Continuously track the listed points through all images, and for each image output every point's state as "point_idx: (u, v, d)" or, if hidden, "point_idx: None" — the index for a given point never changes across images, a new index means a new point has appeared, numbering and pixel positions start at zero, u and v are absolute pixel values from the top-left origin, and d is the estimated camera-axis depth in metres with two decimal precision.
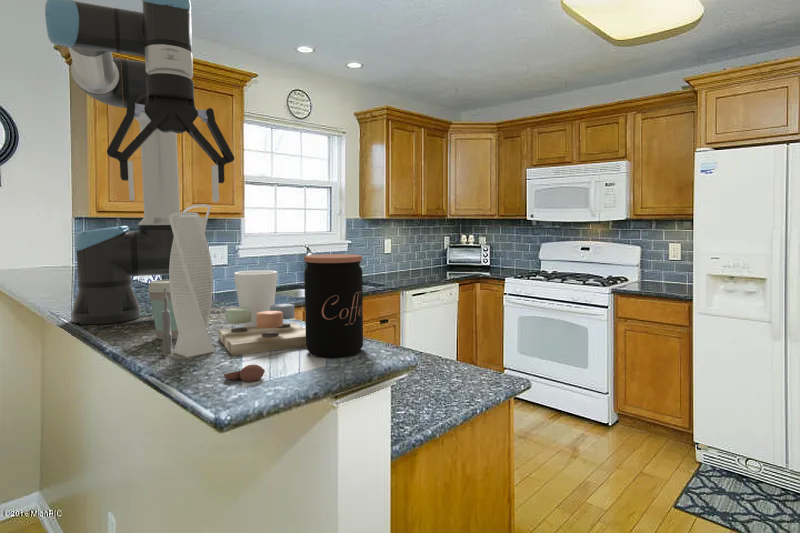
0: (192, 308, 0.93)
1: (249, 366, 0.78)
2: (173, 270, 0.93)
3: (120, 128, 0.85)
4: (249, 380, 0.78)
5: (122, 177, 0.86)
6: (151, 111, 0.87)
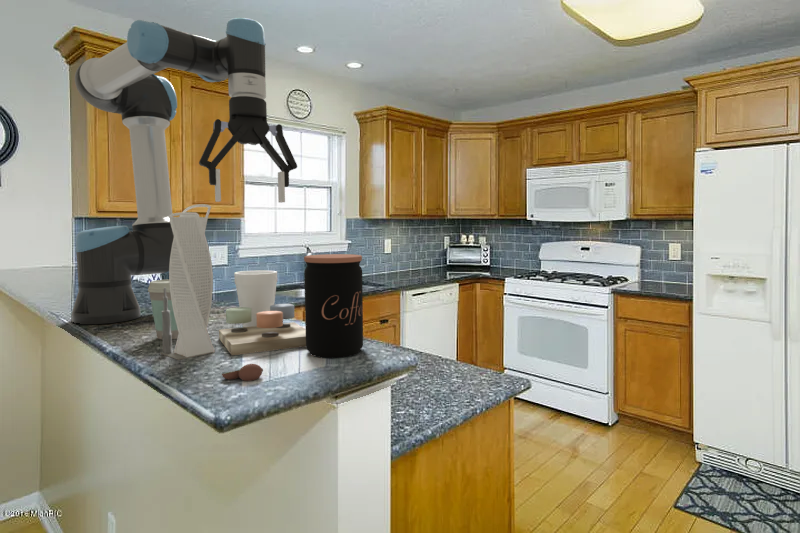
0: (192, 308, 0.93)
1: (248, 365, 0.79)
2: (173, 270, 0.93)
3: (210, 142, 1.03)
4: (248, 379, 0.78)
5: (211, 182, 1.04)
6: (233, 127, 1.05)
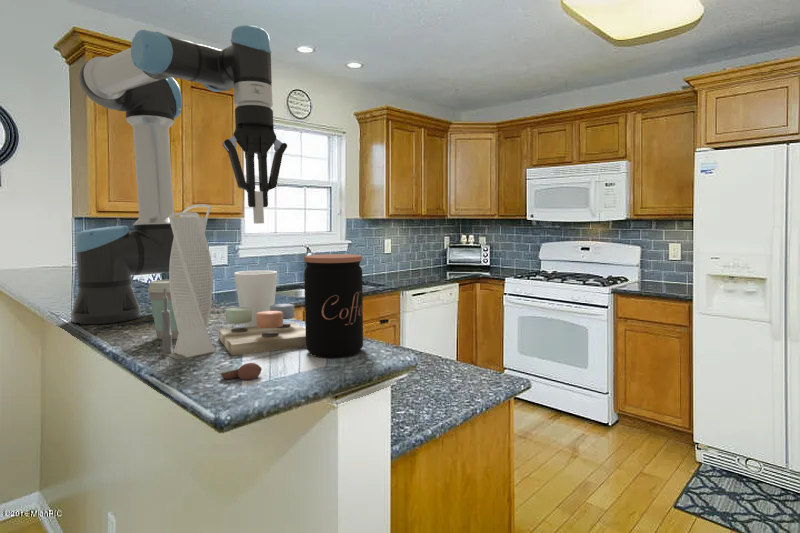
0: (192, 308, 0.93)
1: (247, 364, 0.79)
2: (173, 270, 0.93)
3: (235, 164, 1.02)
4: (247, 378, 0.79)
5: (251, 204, 1.05)
6: (242, 136, 1.03)
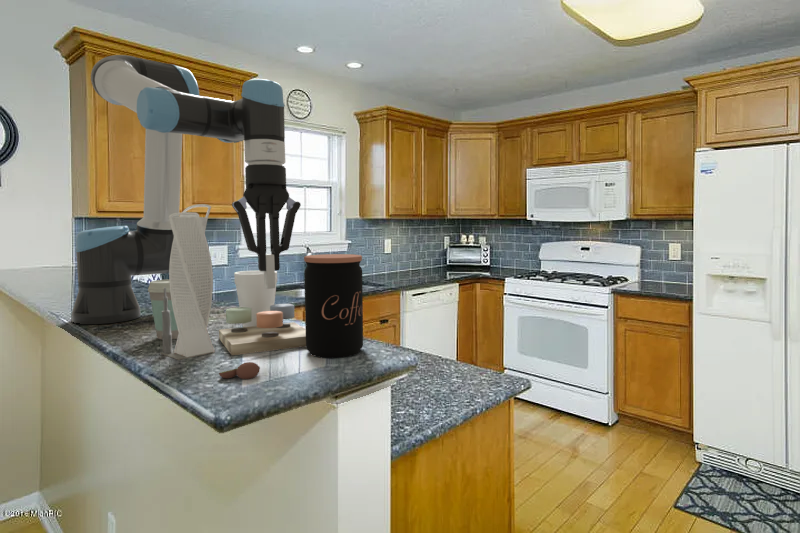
0: (192, 308, 0.93)
1: (245, 364, 0.80)
2: (173, 270, 0.93)
3: (245, 227, 0.96)
4: (246, 377, 0.79)
5: (261, 269, 0.98)
6: (252, 197, 0.96)
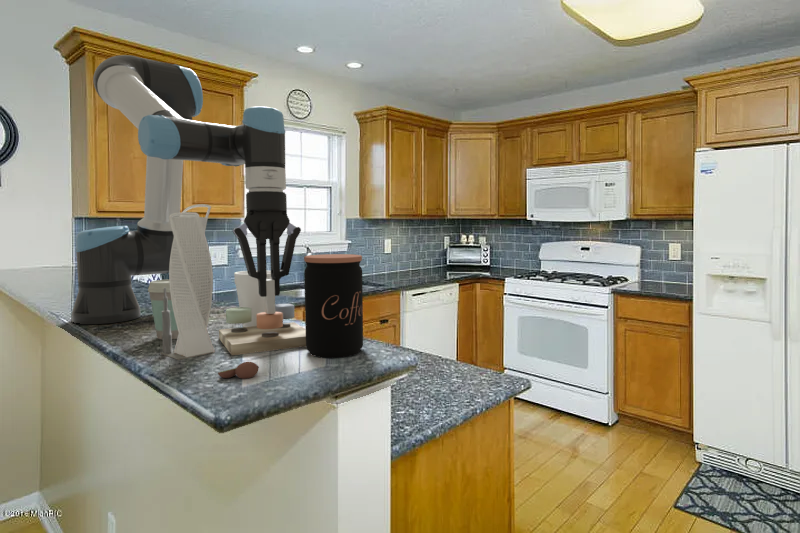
0: (192, 308, 0.93)
1: (245, 363, 0.80)
2: (173, 270, 0.93)
3: (246, 253, 0.96)
4: (246, 377, 0.79)
5: (261, 294, 0.98)
6: (253, 223, 0.96)
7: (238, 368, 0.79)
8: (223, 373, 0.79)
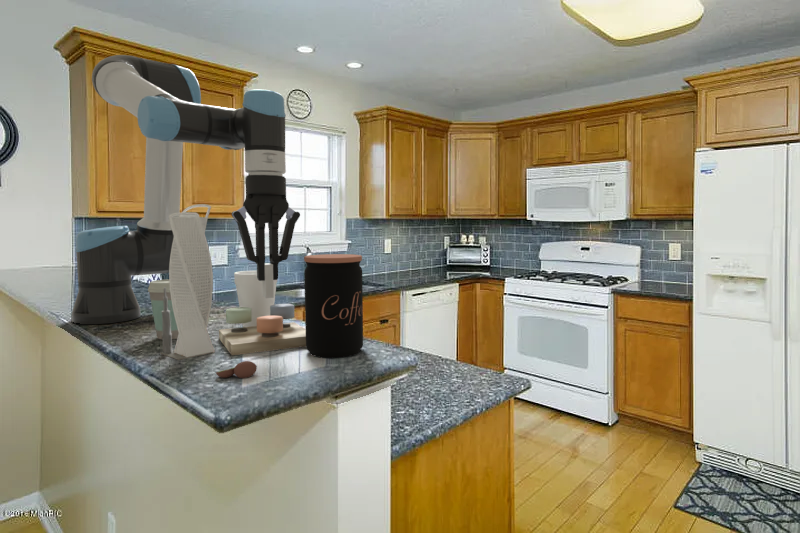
0: (192, 308, 0.93)
1: (243, 363, 0.80)
2: (173, 270, 0.93)
3: (244, 237, 0.96)
4: (244, 376, 0.80)
5: (260, 278, 0.99)
6: (252, 207, 0.96)
7: (237, 367, 0.80)
8: (222, 373, 0.79)
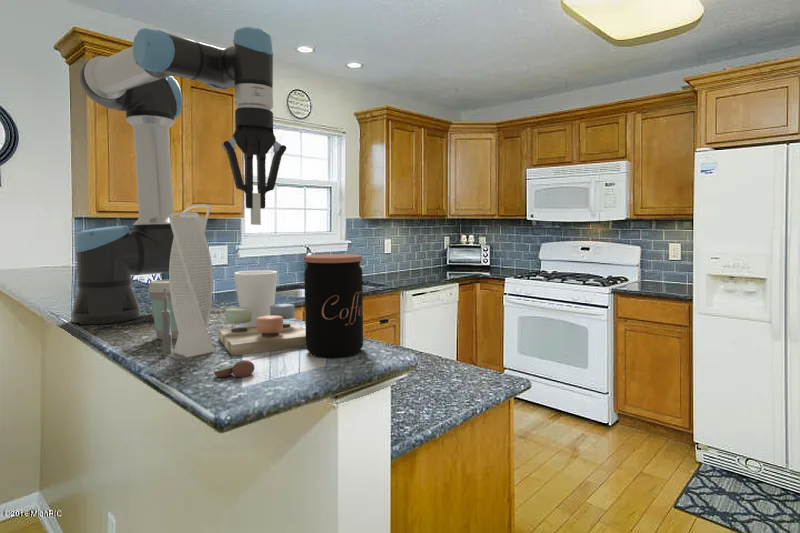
0: (192, 308, 0.93)
1: (241, 362, 0.81)
2: (173, 270, 0.93)
3: (234, 165, 1.03)
4: (243, 375, 0.80)
5: (248, 206, 1.06)
6: (241, 138, 1.04)
7: (235, 367, 0.80)
8: (220, 372, 0.80)
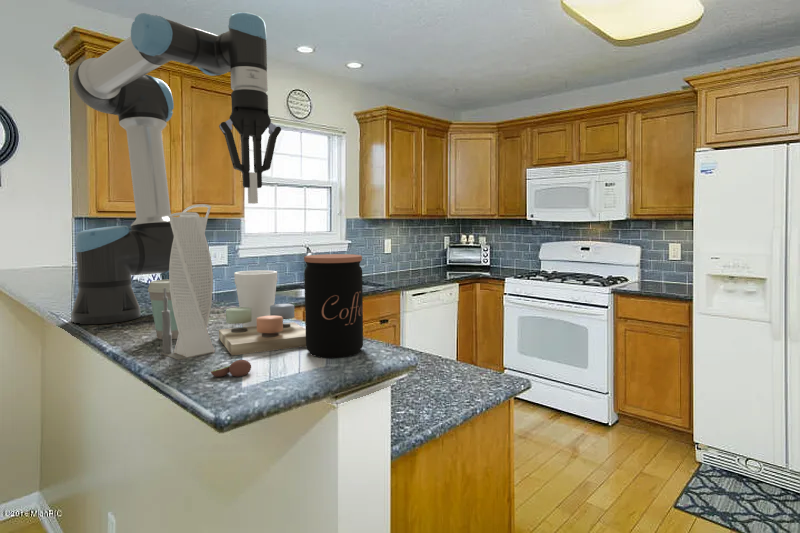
0: (192, 308, 0.93)
1: (238, 361, 0.81)
2: (173, 270, 0.93)
3: (231, 146, 1.07)
4: (240, 374, 0.81)
5: (245, 185, 1.10)
6: (237, 119, 1.08)
7: (232, 366, 0.80)
8: (217, 372, 0.80)
